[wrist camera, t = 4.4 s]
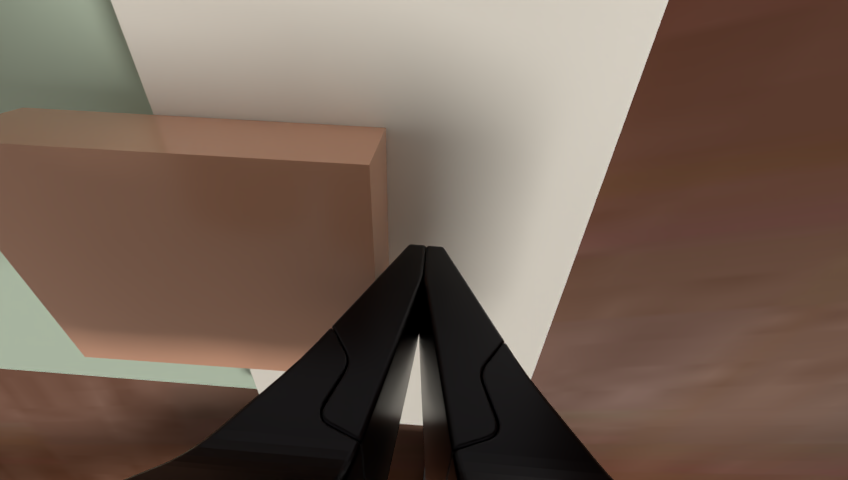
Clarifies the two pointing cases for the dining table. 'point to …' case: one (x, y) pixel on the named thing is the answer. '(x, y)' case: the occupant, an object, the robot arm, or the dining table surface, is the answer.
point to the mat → (83, 91)
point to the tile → (192, 230)
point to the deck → (430, 118)
